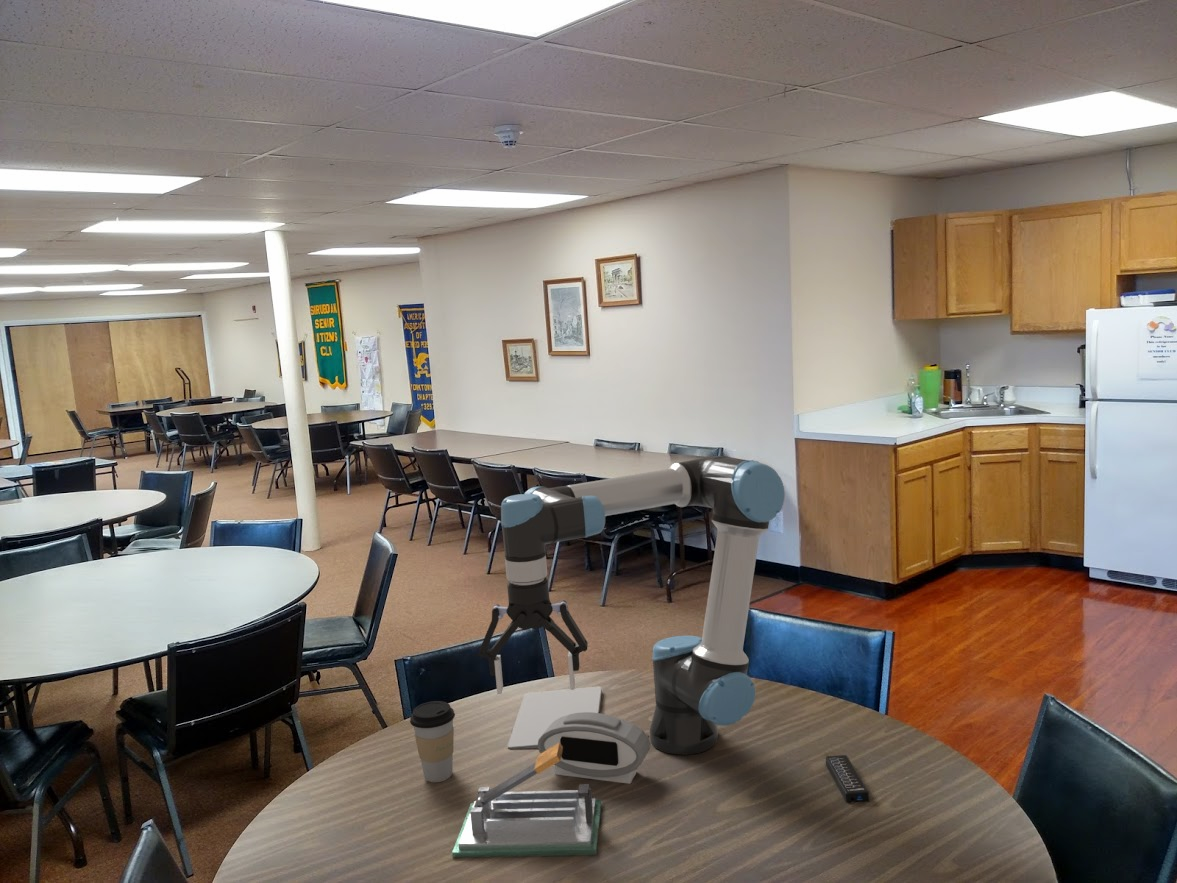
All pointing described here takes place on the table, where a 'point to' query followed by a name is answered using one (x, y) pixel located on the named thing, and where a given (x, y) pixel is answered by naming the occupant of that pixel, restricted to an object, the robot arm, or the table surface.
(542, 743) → the alarm clock
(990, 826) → the table surface
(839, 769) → the multiport hub
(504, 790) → the orange tipped grey lever
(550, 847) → the heatsink
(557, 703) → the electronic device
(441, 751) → the coffee cup
